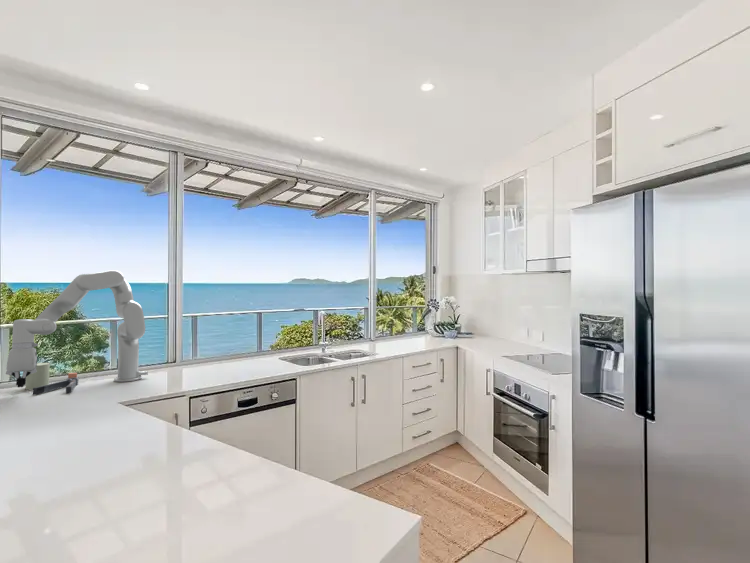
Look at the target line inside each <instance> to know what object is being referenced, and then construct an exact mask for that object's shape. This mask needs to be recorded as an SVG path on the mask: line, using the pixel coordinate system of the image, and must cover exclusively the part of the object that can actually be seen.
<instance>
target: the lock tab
mask: <svg viewBox="0 0 750 563" xmlns="http://www.w3.org/2000/svg"><path fill="white" fill-rule="evenodd" d="M67 376H68V377H67V378H75V377H78V372H69V373H67Z"/></svg>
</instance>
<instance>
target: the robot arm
mask: <svg viewBox="0 0 750 563" xmlns="http://www.w3.org/2000/svg"><path fill="white" fill-rule="evenodd" d="M105 289H110V290H111V292H112V294H113V298H114V303H115V304H114V305H115V311H116V315H117V316H118V318H120V319H123V321H122V322H121V323H120V324H119V325H118V327H117V332H116V333H117V340H118V341H117V343H118V345H117V346H118V347H117V350H118V351H117V377H114V378H113V381H114V382H118V383H119V382H120V383H121V382H122V383H124V382H134V381H139V380H141V379H142V376H148V375H149V371H148V370H147V371H145V370H144V371H141V370H140V369H139V360H140V359H139V358H140V357H139V353H140V351H139V349H140V346H139V344H140V343H139V339H141V338H142V337H144V335H145V333H146V324H145V322H146V321H145V314H144V311H143V307H142V305H141V304H140V303H138V302H137V301H135V300H134V295H133V290H132V287H131V284H129V282H128V281H127V280H126V279H125V276H124V274H123V273H122V272H121V271H119V270H115V269H111V270H104V271H100V272H94V273H82V274H79V275H76V277H74V279H73V280H72V281H71V282H70V283H69V284H67V286H66V288H65V289H64V290H63V291H62V292H61V293H60V294H59V295H58V296H57V297H56V298H55V299H53V301H51V303H49V305H47V306H46V307H45V308H44V310H43V311H42V312H40V314H39V315H38V316H37V317H36V318H35V319H30V318H29V319H27V318H21V319H15V320H14V321H13V324H12V338H11V339H12V340H11V349H10V350H8V351H9V352H8V355H7V356H8V357H7V361H6V366H5V367H6V369H5V370H6V372H5V375H8V376H13V377H14V378H15V380H16V384H15V385H16V386H17V388H23V387H25V386H26V377H27V376H28V375H29V374H32V373H36V372H37V370H36V368H37V363H38V356H37V354H38V353H37V348H35V347H38V343H36V342H35V335H43V336H44V335H46V336H47V335H51V334H53V333H54V332H55V331H56V330H57V328H58V327H57V323H56V322H58V320H59V319H60V318H61V317H63V315H64V314H66V313H68V312H70V311H71V310H74V309H75V308H76V307H77V306H78V304H79V303H80V302H81V301H82V300H83V299H84V298H85V296H87V294H88V293H89V292H91V291H97V290H105ZM28 371H29V372H28ZM21 372H23V373H22V376H21Z"/></svg>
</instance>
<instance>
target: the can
mask: <svg viewBox="0 0 750 563" xmlns="http://www.w3.org/2000/svg"><path fill="white" fill-rule="evenodd" d="M50 364H51V363H50V362H37V368H36V370H37V372H36V373H32V374H29V375H28V376H27V377H26V384H25V386H24V387H25V388H24V389H25V390H26V391H33V388H35V387H39V386H43V385H47V384H50V366H51V365H50ZM28 372H29V371H28Z"/></svg>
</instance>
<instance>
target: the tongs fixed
mask: <svg viewBox="0 0 750 563" xmlns="http://www.w3.org/2000/svg"><path fill="white" fill-rule="evenodd" d="M65 380H69V385H67V387H65V394H72V392H73V391H74V389H75V388H76V386H78V385H79V376H77V377H75V378H68V377H67V378H66V379H65Z"/></svg>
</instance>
